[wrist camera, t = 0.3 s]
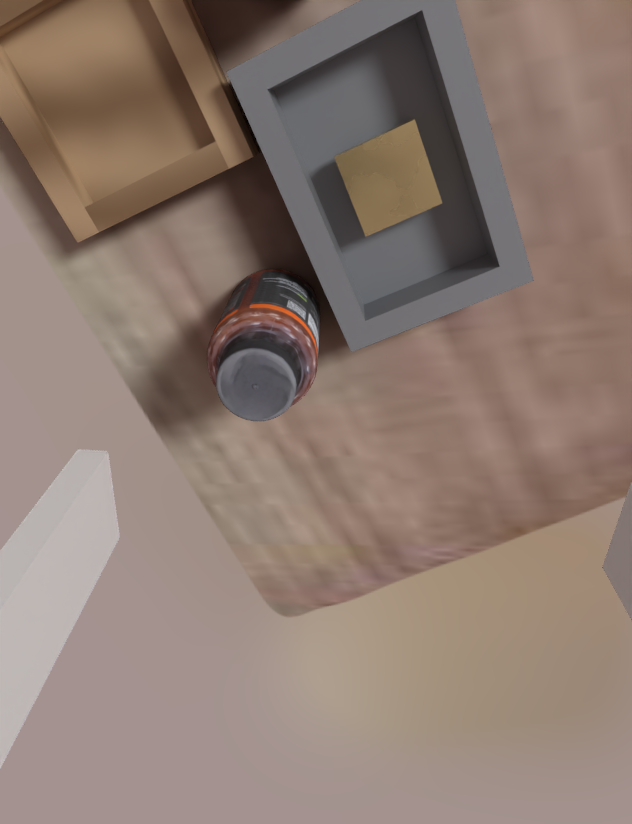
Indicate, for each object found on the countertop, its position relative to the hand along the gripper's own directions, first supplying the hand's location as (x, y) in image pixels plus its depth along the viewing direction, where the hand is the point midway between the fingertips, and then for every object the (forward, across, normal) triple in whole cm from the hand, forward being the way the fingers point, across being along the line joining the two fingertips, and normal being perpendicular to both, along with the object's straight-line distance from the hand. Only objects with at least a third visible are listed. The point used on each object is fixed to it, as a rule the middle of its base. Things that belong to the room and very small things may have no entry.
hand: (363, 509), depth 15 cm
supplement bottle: (+25, -5, -3) cm, 26 cm away
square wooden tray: (+25, -14, +9) cm, 30 cm away
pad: (+23, +2, +6) cm, 24 cm away
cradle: (+25, +2, +6) cm, 26 cm away
